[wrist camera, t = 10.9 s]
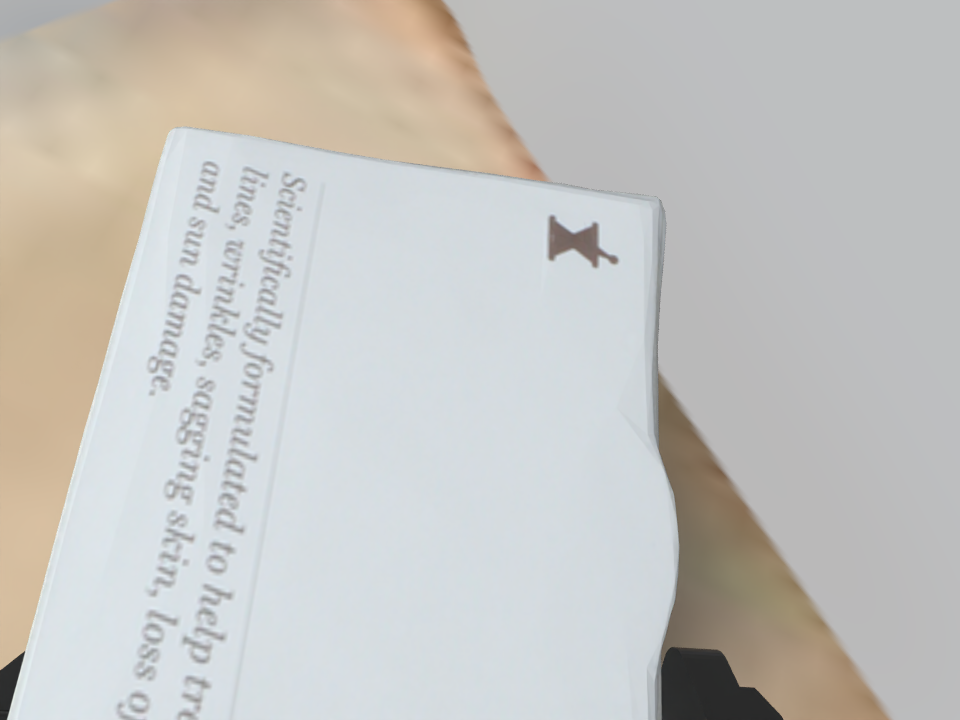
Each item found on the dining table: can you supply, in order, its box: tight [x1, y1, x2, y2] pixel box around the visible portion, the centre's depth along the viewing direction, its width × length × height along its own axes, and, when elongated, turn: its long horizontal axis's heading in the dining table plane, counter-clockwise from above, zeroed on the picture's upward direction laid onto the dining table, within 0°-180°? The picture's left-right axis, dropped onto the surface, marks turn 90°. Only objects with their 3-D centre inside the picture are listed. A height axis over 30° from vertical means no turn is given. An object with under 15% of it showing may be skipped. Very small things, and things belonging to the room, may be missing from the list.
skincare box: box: [7, 127, 679, 720], centre depth 14 cm, size 8×6×15 cm
